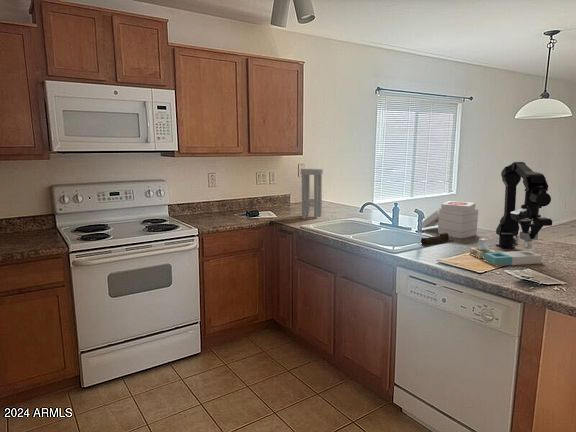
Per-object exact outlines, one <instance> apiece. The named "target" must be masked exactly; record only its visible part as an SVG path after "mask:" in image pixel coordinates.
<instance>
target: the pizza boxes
mask: <svg viewBox="0 0 576 432" xmlns="http://www.w3.org/2000/svg"><path fill="white" fill-rule="evenodd" d="M476 203H477V202H468V201H453V200H447V201H445V202H443V203H441V206H440V207H441V208H439V209H438V210H436V211H434V212H433V213H431V215H429V216H428V217H427V218H425V219H424V220H422V222H423V223H422V226H421V228H422V229H424V228H430V227H435V226H437V234H438V233H439V234H438V235H440V234H443V233H448V235H449V237H451V236H452V237H453V238H457V239H463V238H470V237H473V236H477V234H478V233H477V231H478V219H479V209H478V208H476ZM452 237H451V238H452Z"/></svg>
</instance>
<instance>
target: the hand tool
mask: <svg viewBox="0 0 576 432" xmlns="http://www.w3.org/2000/svg"><path fill="white" fill-rule="evenodd" d="M449 238H450V236H449V235H448V233H443V234H438V235H436V236H429V237H425V238H424V237H422V238H421V239H420V244H421V243H422V244H423V245H422V244H421V245H422V246H427V245H430V244H435V243H446V242H448V241H449V240H450V239H449Z"/></svg>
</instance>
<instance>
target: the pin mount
mask: <svg viewBox="0 0 576 432" xmlns="http://www.w3.org/2000/svg"><path fill="white" fill-rule="evenodd" d="M494 252H497V251H496V250H493V249H491V248H489V247H488V251H480V250H478V246H477V247H469V253H470V254H469V255H471V254H473V255H475V256H477V257H479V258H483V257H484V253H494ZM473 255H472V256H473ZM475 256H474V257H475ZM477 257H476V258H477ZM479 258H478V259H479ZM483 259H484V258H483Z"/></svg>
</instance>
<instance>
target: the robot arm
mask: <svg viewBox="0 0 576 432" xmlns="http://www.w3.org/2000/svg"><path fill="white" fill-rule="evenodd" d="M501 180H502V182H503V184H504V186H505V187H504V188H505V189H504V194H505V195H504V205H503V206H504V210H503V215H502V217H501V219H500V220H499V223H498V225H497V227H496V229H495V233H496V235H497V236H499V237H498V244H495V246H496V247H499V248H501V249H516V246H515V245H514V244H513V237H514V236H516V237H517V236H518V234H519V230H520V229H521V232H522V231H531V239H534V238H535V236H536V235H537V233H538V234H539V232H540V231H541V229H542V228H543V227H550V226H553V220H552V218H550V217H549V218H548V217H545V216H544V217H542V215H541V214H540V209H542V208H543V207H546V206H549V205H550V204H551V201H552V197H551V195H550V194H549V193H548V192H547V191H549V184H548V181H547V179H546V177H545V175H544V174H543V173H541V172H537V171H534V170H532V169H531V168H530V167H529V166H528V165H527V164H526V162H524V161H514V162H512V163H511V164H509V165H507V166H504V168H503V169H502V171H501ZM521 181H522V183H523V185H524V193H525V194H524V202H523V203H524V204H521V205H520V208H518V209H516V204H517V203H516V201H517V186H518V185H519V183H520V182H521Z"/></svg>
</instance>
